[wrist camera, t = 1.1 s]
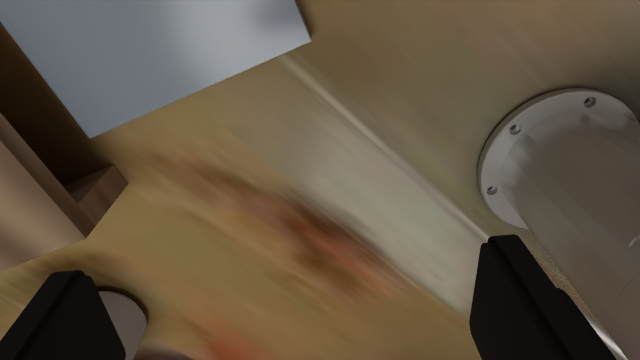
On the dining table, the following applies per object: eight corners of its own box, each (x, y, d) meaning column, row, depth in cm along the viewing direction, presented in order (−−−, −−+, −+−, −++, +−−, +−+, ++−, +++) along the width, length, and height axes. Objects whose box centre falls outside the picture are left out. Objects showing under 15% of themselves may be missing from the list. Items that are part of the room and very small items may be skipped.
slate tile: (238, -143, 25) (230, -151, 23) (311, 34, 30) (311, 41, 28) (1, -14, 28) (-25, -11, 26) (104, 125, 33) (89, 138, 31)
